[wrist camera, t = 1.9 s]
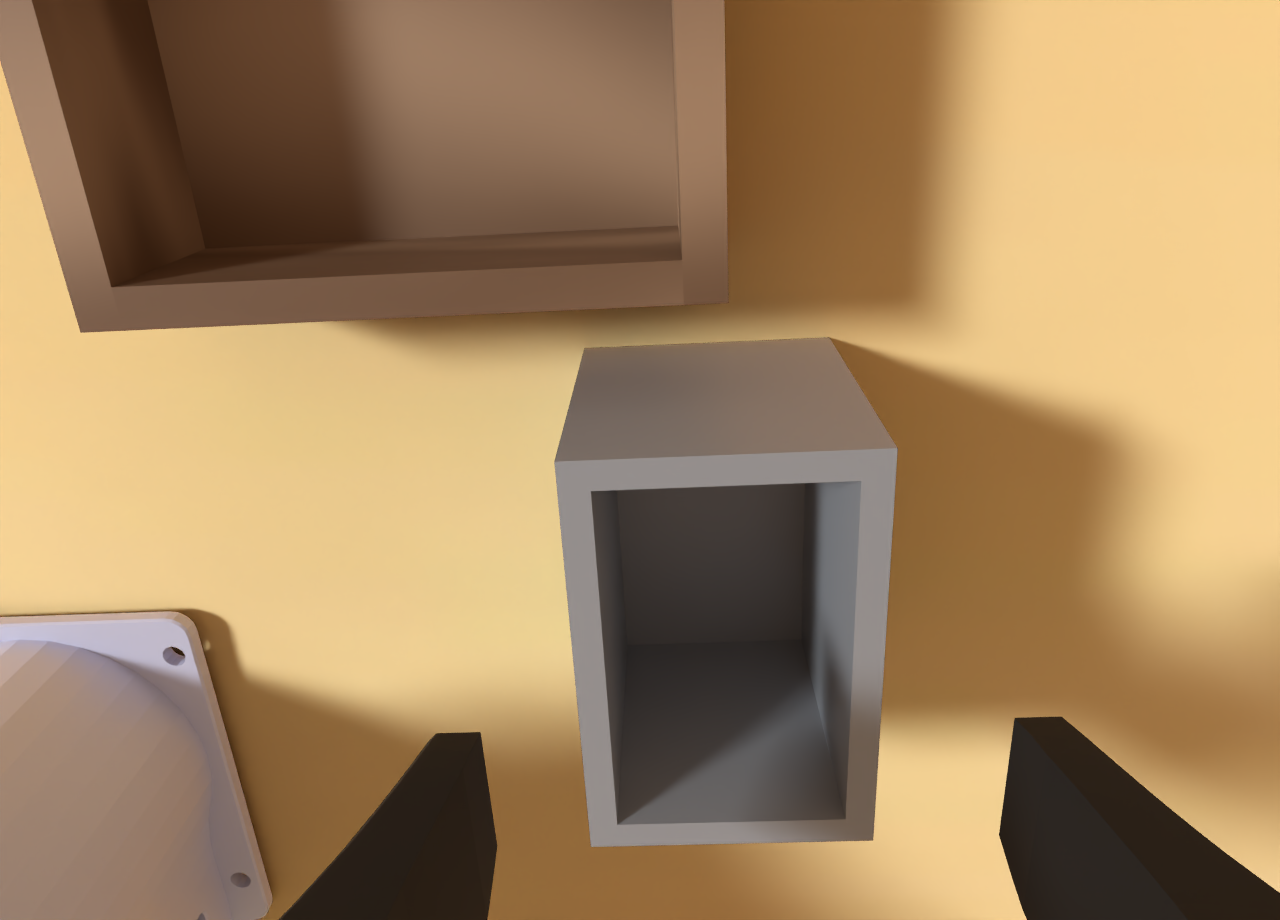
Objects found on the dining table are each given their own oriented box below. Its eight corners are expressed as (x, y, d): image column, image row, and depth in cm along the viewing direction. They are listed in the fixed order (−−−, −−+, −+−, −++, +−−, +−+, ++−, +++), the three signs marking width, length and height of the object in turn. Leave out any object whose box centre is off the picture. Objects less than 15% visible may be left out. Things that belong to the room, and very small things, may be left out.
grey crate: (819, 644, 22) (873, 840, 16) (608, 651, 22) (591, 846, 17) (828, 336, 19) (897, 448, 13) (584, 347, 19) (554, 461, 14)
